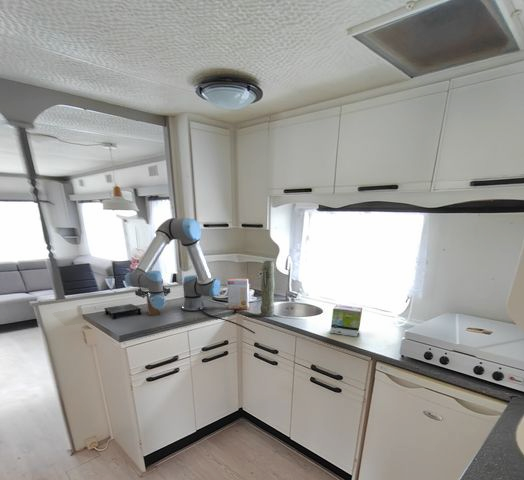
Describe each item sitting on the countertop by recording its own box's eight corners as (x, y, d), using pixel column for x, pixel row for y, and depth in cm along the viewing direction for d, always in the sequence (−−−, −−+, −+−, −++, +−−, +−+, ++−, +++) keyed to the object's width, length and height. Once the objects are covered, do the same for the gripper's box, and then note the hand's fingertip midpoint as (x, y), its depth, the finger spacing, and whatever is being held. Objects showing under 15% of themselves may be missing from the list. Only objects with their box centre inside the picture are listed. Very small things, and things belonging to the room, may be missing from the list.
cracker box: (248, 307, 234) (248, 278, 226) (247, 310, 228) (247, 280, 220) (229, 307, 235) (229, 278, 227) (228, 309, 230) (227, 279, 222)
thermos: (276, 313, 222) (277, 260, 208) (271, 317, 211) (272, 262, 198) (263, 312, 224) (264, 259, 211) (258, 316, 214) (258, 262, 200)
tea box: (330, 333, 184) (332, 308, 178) (333, 328, 193) (335, 304, 187) (357, 337, 179) (360, 311, 173) (359, 331, 188) (362, 306, 182)
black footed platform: (141, 314, 215) (140, 308, 214) (113, 319, 204) (112, 313, 202) (132, 309, 226) (131, 303, 225) (105, 313, 215) (104, 307, 213)
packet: (158, 314, 215) (156, 295, 210) (149, 315, 213) (146, 295, 208) (157, 311, 222) (155, 292, 217) (148, 312, 220) (145, 293, 215)
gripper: (133, 305, 181) (131, 296, 199) (178, 301, 190) (172, 293, 208) (131, 291, 178) (129, 284, 196) (177, 288, 187) (171, 281, 205)
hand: (151, 289), depth 202 cm, fingers open, 13 cm apart
